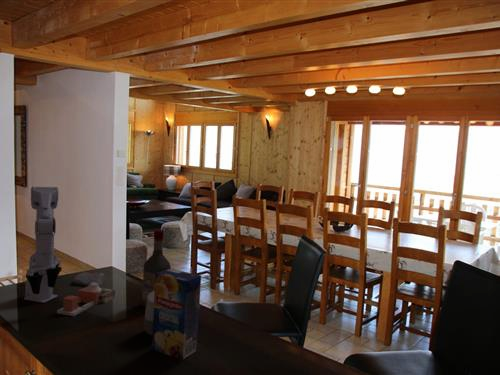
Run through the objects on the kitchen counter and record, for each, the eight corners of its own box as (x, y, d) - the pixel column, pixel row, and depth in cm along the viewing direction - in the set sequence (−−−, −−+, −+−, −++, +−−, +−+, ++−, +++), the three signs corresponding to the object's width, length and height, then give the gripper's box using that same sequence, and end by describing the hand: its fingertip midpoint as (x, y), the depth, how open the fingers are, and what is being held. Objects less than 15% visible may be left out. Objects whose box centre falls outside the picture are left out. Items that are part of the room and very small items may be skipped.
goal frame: (77, 298, 170) (77, 291, 170) (88, 292, 177) (88, 285, 177) (105, 303, 167) (105, 295, 167) (114, 297, 174) (115, 290, 174)
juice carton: (197, 350, 134) (201, 275, 131) (182, 360, 127) (186, 281, 125) (167, 340, 139) (170, 268, 137) (151, 348, 133) (155, 273, 130)
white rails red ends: (55, 312, 155) (56, 298, 154) (79, 300, 168) (80, 287, 168) (74, 316, 153) (75, 301, 152) (97, 303, 166) (98, 290, 166)
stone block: (97, 291, 185) (106, 280, 195) (96, 281, 184) (106, 270, 193) (71, 290, 186) (81, 279, 195) (70, 280, 185) (80, 269, 194)
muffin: (92, 303, 166) (92, 285, 166) (81, 299, 169) (81, 282, 168) (104, 298, 172) (105, 282, 171) (93, 295, 175) (94, 278, 174)
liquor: (156, 311, 162) (159, 234, 159) (138, 306, 167) (141, 230, 164) (171, 305, 170) (175, 230, 167) (154, 299, 174) (158, 227, 172)
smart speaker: (138, 335, 142) (139, 294, 140) (154, 325, 150) (155, 286, 149) (162, 341, 138) (164, 299, 137) (177, 330, 147) (179, 291, 145)
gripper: (39, 258, 141) (38, 298, 143) (68, 249, 155) (67, 285, 157) (21, 256, 143) (20, 295, 144) (51, 247, 157) (50, 283, 158)
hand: (43, 290), depth 151 cm, fingers open, 7 cm apart
